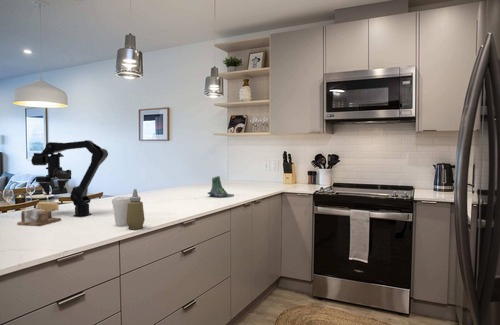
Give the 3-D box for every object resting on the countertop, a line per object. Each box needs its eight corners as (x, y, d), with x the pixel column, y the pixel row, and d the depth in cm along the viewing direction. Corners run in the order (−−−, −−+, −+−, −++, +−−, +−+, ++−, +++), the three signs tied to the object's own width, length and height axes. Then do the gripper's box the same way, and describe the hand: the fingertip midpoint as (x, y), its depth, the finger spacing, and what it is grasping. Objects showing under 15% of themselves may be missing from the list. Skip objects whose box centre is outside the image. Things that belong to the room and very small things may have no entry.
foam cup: (112, 223, 164) (111, 197, 163) (132, 221, 168) (131, 196, 167) (112, 227, 155) (112, 199, 155) (133, 225, 159) (133, 198, 158)
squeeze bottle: (129, 226, 158) (128, 188, 157) (146, 226, 159) (146, 188, 158) (124, 230, 150) (123, 190, 149) (142, 230, 151) (142, 190, 150)
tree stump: (238, 197, 254) (233, 174, 250) (213, 205, 246) (207, 182, 243) (230, 193, 270) (225, 172, 267) (206, 200, 263) (201, 179, 260)
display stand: (61, 220, 171) (60, 206, 171) (39, 226, 159) (39, 211, 158) (39, 219, 174) (39, 205, 174) (17, 224, 161) (16, 210, 161)
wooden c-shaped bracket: (58, 209, 171) (58, 203, 171) (40, 214, 160) (40, 206, 160) (40, 209, 173) (40, 202, 173) (21, 213, 162) (21, 205, 162)
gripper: (52, 166, 171) (53, 196, 172) (79, 164, 189) (79, 192, 190) (34, 166, 174) (35, 196, 174) (62, 164, 192) (63, 191, 193)
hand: (54, 193), depth 183 cm, fingers open, 9 cm apart
